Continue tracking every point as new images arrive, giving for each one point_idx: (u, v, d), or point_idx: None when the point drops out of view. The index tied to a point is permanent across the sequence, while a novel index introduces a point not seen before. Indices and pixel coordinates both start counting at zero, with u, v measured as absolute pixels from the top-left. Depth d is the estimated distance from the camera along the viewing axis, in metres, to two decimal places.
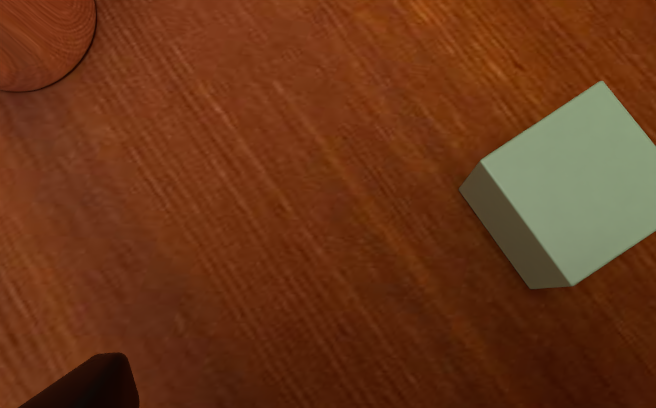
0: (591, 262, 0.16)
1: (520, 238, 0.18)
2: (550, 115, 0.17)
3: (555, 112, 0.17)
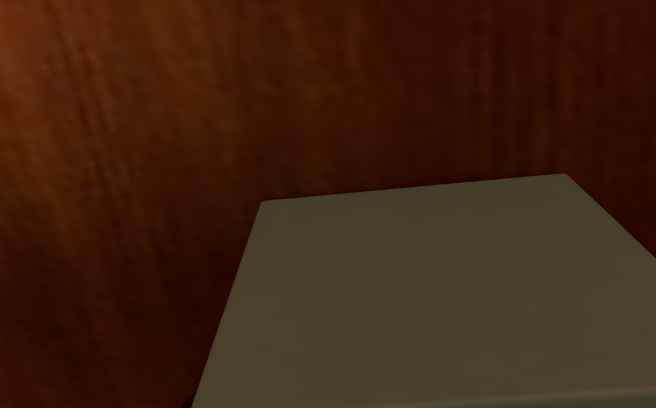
0: None
1: None
2: (517, 405, 0.04)
3: (541, 405, 0.04)
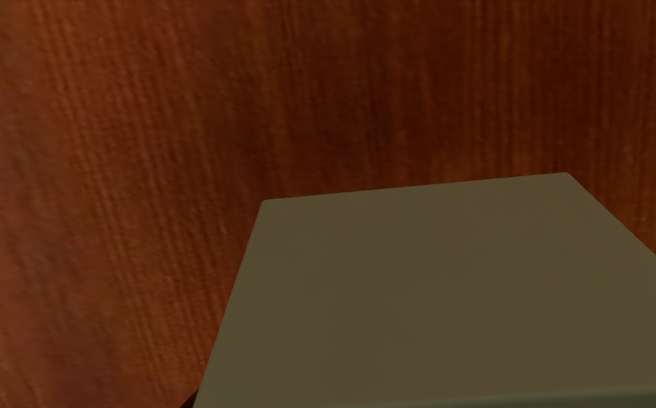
0: None
1: None
2: (519, 403, 0.04)
3: (544, 402, 0.04)
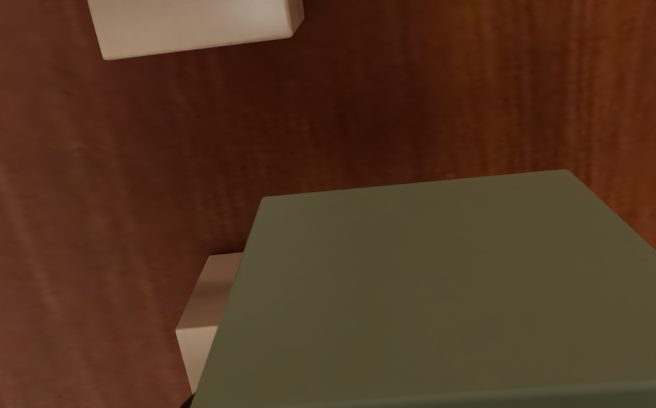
0: None
1: None
2: (521, 398, 0.04)
3: (545, 398, 0.04)
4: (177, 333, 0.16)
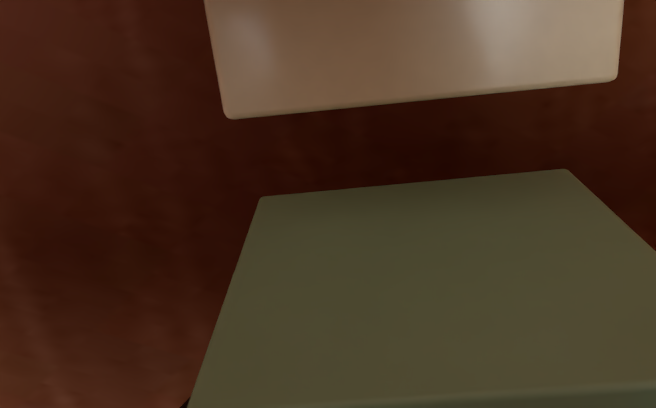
0: None
1: None
2: (518, 398, 0.04)
3: (542, 398, 0.04)
4: None
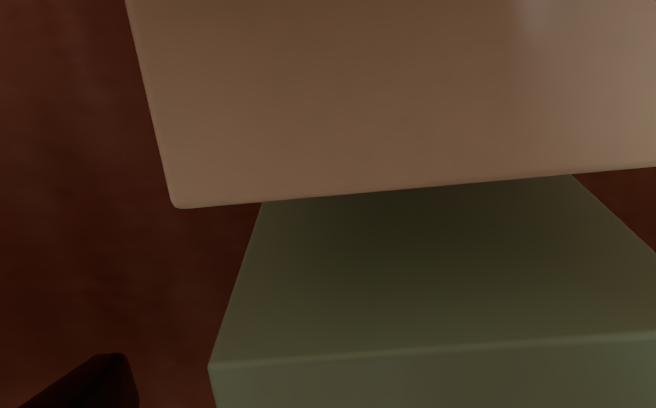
0: None
1: None
2: (500, 349, 0.05)
3: (521, 348, 0.05)
4: None
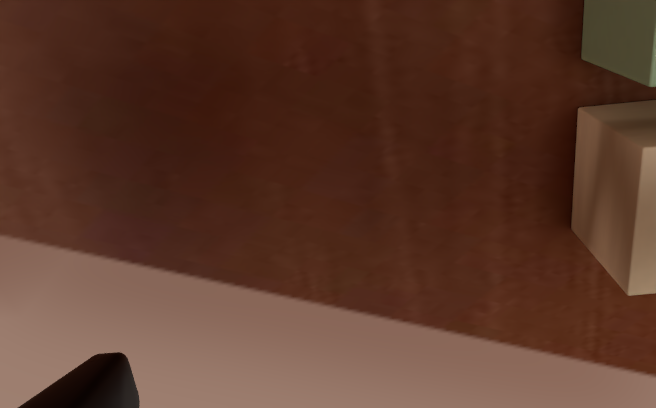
0: None
1: (629, 5, 0.15)
2: None
3: None
4: (645, 152, 0.15)
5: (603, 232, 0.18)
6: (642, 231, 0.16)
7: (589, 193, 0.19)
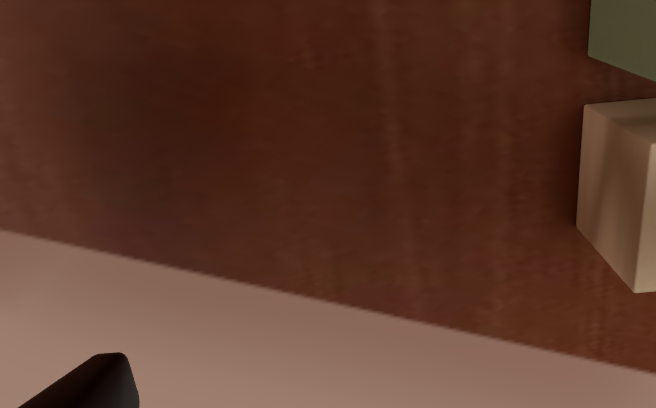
0: None
1: (638, 1, 0.15)
2: None
3: None
4: (653, 148, 0.15)
5: (609, 230, 0.18)
6: (649, 228, 0.16)
7: (595, 190, 0.19)
